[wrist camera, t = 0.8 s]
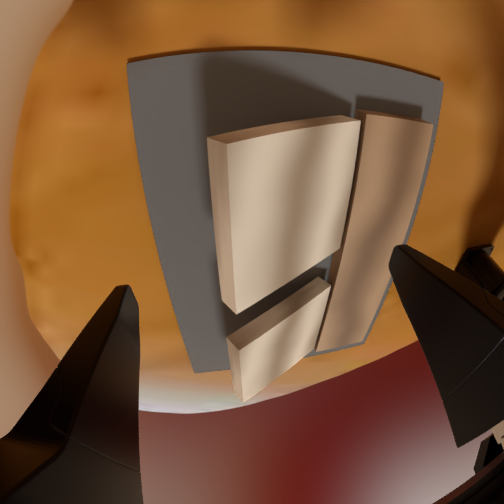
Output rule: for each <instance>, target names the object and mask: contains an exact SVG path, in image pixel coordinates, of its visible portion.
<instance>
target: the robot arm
mask: <svg viewBox="0 0 504 504" xmlns="http://www.w3.org/2000/svg"><path fill="white" fill-rule="evenodd" d="M493 248H494V246H493V245H486V246H481V247H475V248H470V249H468V250H467V252H466V254H465V256H464V258H463V260H462V262H461V264H460V266H459V268H458V270H457V272H455V271H453V270H451V269H450V268H448V267H446V266H444V265H443V264H441V263H439V262H437V261H435V260H434V259H432V258H430V257H428V256H426V255H425V254H423V253H421V252H419V251H417V250H415V249H414V248H412V247H410V246H408V245H406V244H401V245H396V246H395V247H394V248H393V251H392V254H391V257H390V260H389V265H388V266H389V271H390V274H391V276H392V279H393V281H394V284H395V286H396V289H397V291H398V294H399V297H400V299H401V302H402V305H403V307H404V309H405V311H406V313H407V315H408V318H409V320H410V322H411V324H412V326H413V328H414V331H415V333H416V335H417V337H418V340H419V342H420V344H421V347H422V349H423V351H424V353H425V356H426V359H427V361H428V363H429V366H430V368H431V371H432V374H433V376H434V379H435V381H436V384H437V387H438V390H439V392H440V395H441V398H442V400H443V404H444V407H445V410H446V413H447V416H448V419H449V422H450V426H451V429H452V432H453V435H454V439H455V442H456V445H457V447H458V448H459V447H461V446H463V445H465V444H466V443H468V442H470V441H472V440H473V439H475V438H477V437H478V436H480V435H482V434H483V433H485V432H487V431H488V430H489V429H491V430H492V432H493V433H492V434H491V435H490V436H488V437H487V438H486V439H484V440H483V441H482V442H481V444H480V449H479V452H478V456H477V459H476V463H475V466H474V471H475V475H474V476H473V477H471V478H470V479H469V480H467V481H466V482H465V483H463V484H462V485H460V486H459V487H458V488H456V489H455V490H453V491H452V492H450V493H449V494H447V495H446V496H444V497H443V498H441V499H439V500H438V501H436V502H435V503H433V504H504V271H503V270H502V269H501V268H500V267H499V266H498V264H497V263H496V262H495V261H494V260H493V259H492V258H491V257H490V255H491V252H492V250H493ZM57 367H58V368H56V369H55V370H54V372H53V373H52V375H51V376H50V378H49V379H48V380H47V382H46V384H45V385H44V387H43V388H42V389H41V391H40V392H39V393H38V395H37V396H36V397H35V399H34V400H33V402H32V403H31V404H30V406H29V407H28V408H27V410H26V411H25V412H24V414H23V415H22V416H21V418H20V419H19V421H18V422H17V423H16V425H15V426H14V427H13V429H12V430H11V431H10V432H9V433H8V434H7V435H5V436H4V437H2V438H0V504H143V496H142V486H141V473H140V456H139V426H138V425H139V421H138V419H139V418H138V417H139V415H138V411H139V369H140V335H139V308H138V303H137V300H136V298H135V296H134V294H133V291H132V289H131V287H130V286H129V285H119V286H116V287H115V288H114V290H113V291H112V292H111V293H110V295H109V296H108V297H107V298H106V300H105V301H104V302H103V304H102V305H101V306H100V307H99V309H98V310H97V311H96V313H95V314H94V315H93V317H92V318H91V319H90V321H89V322H88V323H87V325H86V326H85V327H84V329H83V330H82V331H81V333H80V334H79V336H78V337H77V338H76V340H75V341H74V343H73V344H72V345H71V347H70V348H69V350H68V351H67V353H66V354H65V355H64V357H63V358H62V360H61V361H60V363H59V364H58V366H57Z"/></svg>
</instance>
